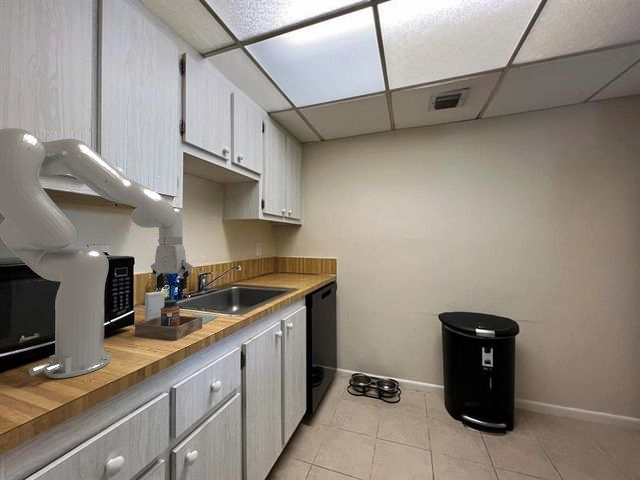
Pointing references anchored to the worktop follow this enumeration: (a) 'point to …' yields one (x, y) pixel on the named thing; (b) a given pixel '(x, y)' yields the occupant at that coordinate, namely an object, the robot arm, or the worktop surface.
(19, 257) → the robot arm
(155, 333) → the box
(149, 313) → the skincare box
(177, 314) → the supplement bottle
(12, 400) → the worktop surface
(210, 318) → the mat
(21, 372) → the worktop surface
